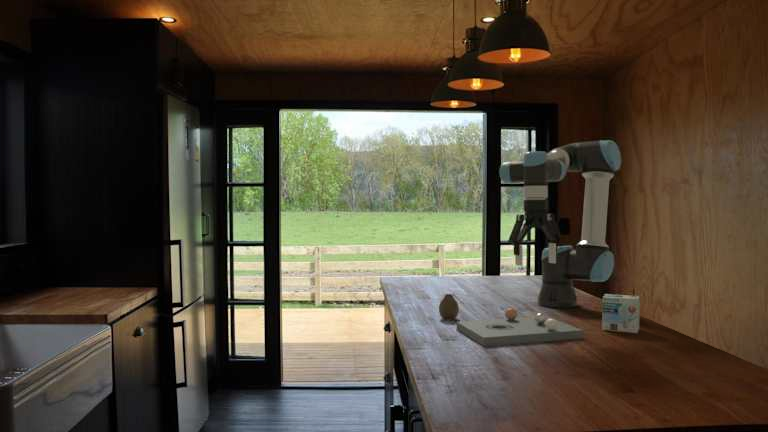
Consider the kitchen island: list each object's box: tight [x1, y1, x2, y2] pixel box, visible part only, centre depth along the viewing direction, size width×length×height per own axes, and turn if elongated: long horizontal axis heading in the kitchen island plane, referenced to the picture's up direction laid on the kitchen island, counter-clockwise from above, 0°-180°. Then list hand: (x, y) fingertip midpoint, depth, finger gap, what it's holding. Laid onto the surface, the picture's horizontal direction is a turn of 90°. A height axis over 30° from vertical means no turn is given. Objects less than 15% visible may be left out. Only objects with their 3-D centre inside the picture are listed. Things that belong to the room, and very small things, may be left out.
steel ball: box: [534, 312, 547, 324], centre depth 180 cm, size 4×4×4 cm
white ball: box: [545, 318, 557, 331], centre depth 172 cm, size 4×4×4 cm
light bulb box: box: [601, 293, 640, 334], centre depth 182 cm, size 11×7×11 cm, turn 62°
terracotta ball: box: [504, 307, 518, 320], centre depth 187 cm, size 4×4×4 cm
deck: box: [456, 315, 584, 347], centre depth 179 cm, size 32×22×2 cm
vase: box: [438, 293, 459, 321], centre depth 202 cm, size 7×7×9 cm
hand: (535, 264), depth 186 cm, fingers open, 13 cm apart
